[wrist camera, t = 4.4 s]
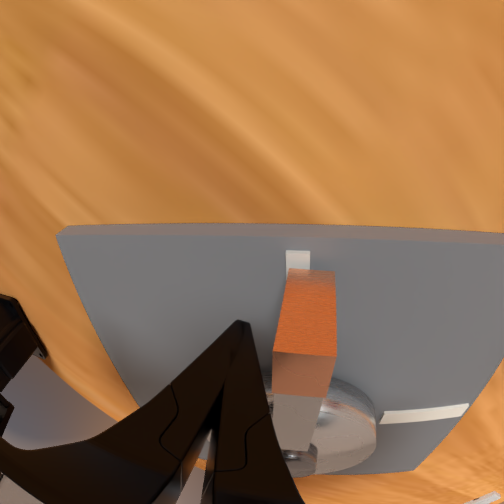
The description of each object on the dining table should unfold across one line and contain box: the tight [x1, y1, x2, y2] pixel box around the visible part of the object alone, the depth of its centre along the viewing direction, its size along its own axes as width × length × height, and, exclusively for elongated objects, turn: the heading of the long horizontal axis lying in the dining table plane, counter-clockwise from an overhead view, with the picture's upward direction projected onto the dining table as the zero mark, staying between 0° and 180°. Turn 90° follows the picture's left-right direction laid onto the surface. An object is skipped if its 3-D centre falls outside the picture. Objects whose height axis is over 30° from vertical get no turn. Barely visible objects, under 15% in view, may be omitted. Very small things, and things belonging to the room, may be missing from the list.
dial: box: [207, 268, 376, 477], centre depth 12 cm, size 15×9×4 cm, turn 2°
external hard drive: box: [464, 491, 501, 504], centre depth 30 cm, size 2×8×12 cm
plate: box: [56, 223, 504, 475], centre depth 16 cm, size 22×22×1 cm
